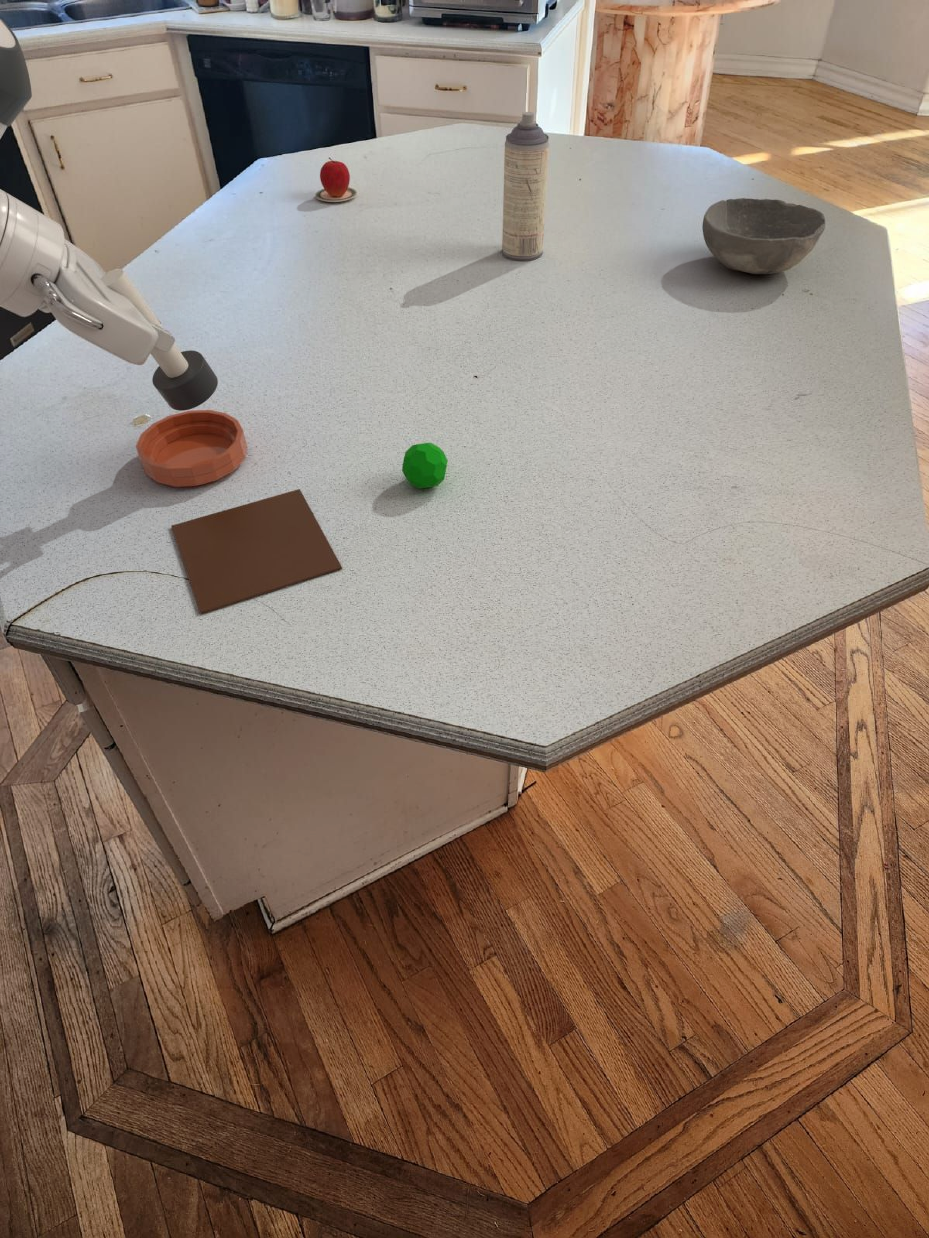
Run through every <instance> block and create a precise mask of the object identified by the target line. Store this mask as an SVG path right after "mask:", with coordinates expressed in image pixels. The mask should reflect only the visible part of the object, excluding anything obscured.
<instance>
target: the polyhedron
mask: <svg viewBox="0 0 929 1238" xmlns="http://www.w3.org/2000/svg"><path fill="white" fill-rule="evenodd" d="M447 467H448V458H447V456H446V454H445V452H444V451H443V449H441V448H440V447H439V446H438V445H436V444H434V443H432V442H421V443H416V444H412V445H411V446H410V447H409V448H408V449H406V451H405V452H404V456H403V461H402V467H401V468H402V469H401V472H402V473H403V475H404V477H405V480H406V481H407V482H408V483H409V484H410V485H411V486H413V487H415V488H417V489H419V490H420V489H427V488H433V487H438V486H439V485H440V484H441V483H442V482H443V481H444V480H445V477H446V472H447Z"/></svg>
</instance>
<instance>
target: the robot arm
mask: <svg viewBox="0 0 929 1238" xmlns="http://www.w3.org/2000/svg"><path fill="white" fill-rule="evenodd" d="M32 97H33V92H32V85H31V79H30V73H29V69H28V65H27V62H26V58H25V55H24V52H23V49H22V46H21V44H20V42H19V40H18V38H17V36H16V34H15V32H13V30H12V29H11V27H10V26H9V25H8V24H7V23H6V22H5V21H4V19H2V18H1V17H0V140H1V139H2V137H3V136H4V134H5V132H6V130H7V128H8V127H11V126H12V124H13V123H14V122H15V120H16V119H17V118H18V116H19V115H20V114H21V113H22V111H23V109H25V107H26V105H27V104H28V103H29V102H30V100H31V99H32ZM106 273H107V272H106V271H105V270H104V269H103V267H102V266H101V265H100V264H99V263H98V262H97V261H96V260H94V258H92V257H91V256H90V255H89V254H87V253H86V252H85V251H83V250H82V249H80V248H79V247H78V246H76V245H75V244H73V243H71V241H69V240H67V239H66V238H65V232H64V229H63V227H62V225H61V224H60V223H59V222H57V221H56V220H54V219H52V218H50V217H49V216H46V215H45V214H44V213H41V211H39V210H37V209H35V208H34V207H32V206H30V205H29V204H27V203H25V202H23V201H21V200H19V199H18V198H16V197H14V196H13V195H11V194H10V193H8V192H6V191H5V190H2V189H1V188H0V307H1V308H3V309H4V310H7V311H9V312H11V313H13V314H16V315H17V316H19V317H22V318H26V317H29V316H31V315H33V314H34V313H36V311H38V310H39V311H41V312H43V313H46V314H49V313H51V314H52V315H53V317H54V319H55V320H56V321H57V322H58V323H59V324H60V325H61V326H62V327H63V328H65V329H66V330H68V331H69V332H71V333H72V334H74V335H76V336H77V337H79V338H81V339H83V340H84V341H86V342H88V343H90V344H92V345H93V346H96V347H98V348H99V349H101V350H103V351H105V352H107V353H109V354H111V355H113V356H115V357H117V358H119V359H121V360H123V361H125V362H127V363H129V364H132V365H136V366H142V365H144V364H145V363H146V361H147V360H148V358H149V357H150V355H151V354H150V353H151V351H152V349H153V347H156V348H158V349H160V350H162V351H164V352H168V351H170V349H171V348H172V346H173V344H175V343H176V338H175V337H174V336H173V334H172V333H171V332H170V331H169V330H167V329H166V328H164V327H163V328H164V329H163V328H162V327H160V326H158V325H153V324H151V323H149V322H148V321H147V320H146V319H145V317H144V316H143V315H142V314H141V313H140V312H139V311H138V309H137V308H136V307H135V306H134V305H133V304H132V302H131V301H130V300H129V299H127V298H126V297H125V296H123V295H121V294H119V293H118V292H116V291H114V290H112V289H110V288H109V287H107V286H106V285H105V284H104V283H103V282H102V280H101V278H102V277H103V276H104V275H105V274H106ZM158 321H159V322H160V320H159V319H158ZM160 324H161V325H162V322H160Z"/></svg>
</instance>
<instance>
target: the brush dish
mask: <svg viewBox="0 0 929 1238" xmlns="http://www.w3.org/2000/svg"><path fill="white" fill-rule="evenodd" d="M135 448H136V451H137V453H138V457H139V460H140V462H141V465H142V467H143V470H144V472H145V473H144V474H145V475H147V476H148V477H149V478H151V479H152V480H153V481H155V482H156V483H158V484H163V485H167V486H171V487H175V488H177V487H196V486H202V485H206V484H209V483H213V482H215V481H219V480H220V479H222V478H224V477H225V476H227V475H229V474H230V473H232V472H234V471H235V470H236V469H237V468H238V467H239V466H240V465H241V463H243V462H244V461H245V459H246V455H247V451H248V444H247V440H246V437H245V432H244V429H243V428H242V425H241V424H240V422H239V419H237V418H235V417H233V416H231V415H230V414H228V413H226V412H223V411H222V412H221V411H216V410H212V409H198V410H197V409H196V410H185V411H182V412H178V413H174V414H170V415H168V416H166V417H164V418H161V419H159V420H157V421H155V422H153V423H152V424H150V426H148V428H146V429H144V431H143V432H142V433H141V434H140V435H139V437H138V440H137V442H136V444H135Z"/></svg>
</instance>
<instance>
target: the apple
mask: <svg viewBox="0 0 929 1238" xmlns="http://www.w3.org/2000/svg"><path fill="white" fill-rule="evenodd" d="M328 159H329V161H326V162H325V163H323V165H322V166H321V168H320V171H319V180H320V183H321V185H322V187H323V188H321V189H319V190H318V191H317V192H315V198H316V199H317V200H319V201H322V202H327V203H328V202H329V203H341V202H345V201H350V200H352V199H354V198H356V197H357V195H358V191H357V189H355V188H352V187H349V185H350V181H351V180H350V179H351V175H350V171H349V169H348V167H347V165H346V164H345V163H344V162H342V161H339V160H333V159H332V158H331V157H328Z"/></svg>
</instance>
